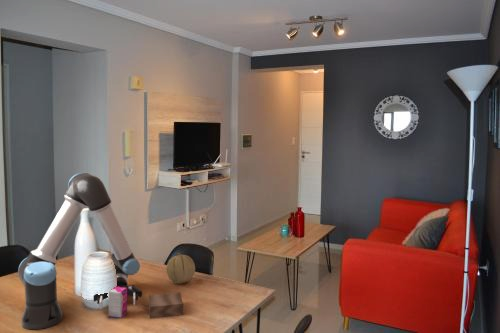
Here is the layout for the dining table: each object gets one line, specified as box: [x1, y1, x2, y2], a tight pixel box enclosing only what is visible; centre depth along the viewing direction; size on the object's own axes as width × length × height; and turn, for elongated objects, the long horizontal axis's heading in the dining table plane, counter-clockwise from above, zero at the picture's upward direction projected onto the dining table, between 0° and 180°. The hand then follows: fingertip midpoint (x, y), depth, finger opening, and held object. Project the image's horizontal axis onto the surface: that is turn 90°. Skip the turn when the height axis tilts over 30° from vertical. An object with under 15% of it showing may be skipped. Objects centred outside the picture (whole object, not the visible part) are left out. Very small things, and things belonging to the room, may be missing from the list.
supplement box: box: [108, 287, 128, 319], centre depth 180 cm, size 6×6×12 cm
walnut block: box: [148, 292, 184, 319], centre depth 185 cm, size 14×12×5 cm
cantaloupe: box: [166, 252, 196, 285], centre depth 216 cm, size 15×15×15 cm
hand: (117, 303), depth 176 cm, fingers open, 13 cm apart
